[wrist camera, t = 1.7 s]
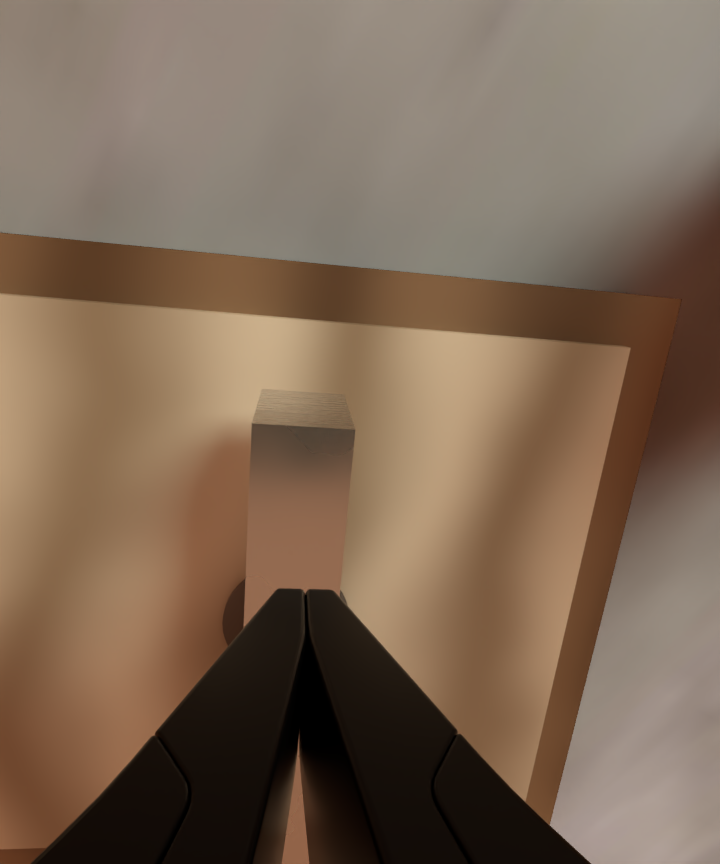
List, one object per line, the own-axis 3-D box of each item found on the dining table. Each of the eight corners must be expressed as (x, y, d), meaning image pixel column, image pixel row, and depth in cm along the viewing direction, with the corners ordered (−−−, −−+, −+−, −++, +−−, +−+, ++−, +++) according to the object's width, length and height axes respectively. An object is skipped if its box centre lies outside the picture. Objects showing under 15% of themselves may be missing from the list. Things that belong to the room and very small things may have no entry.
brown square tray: (633, 294, 19) (695, 300, 16) (520, 794, 25) (549, 865, 22) (-73, 225, 16) (-155, 218, 13) (-3, 806, 22) (-49, 888, 19)
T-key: (265, 375, 15) (251, 423, 11) (339, 380, 15) (355, 429, 11) (244, 824, 20) (229, 986, 15) (302, 822, 20) (302, 981, 15)
